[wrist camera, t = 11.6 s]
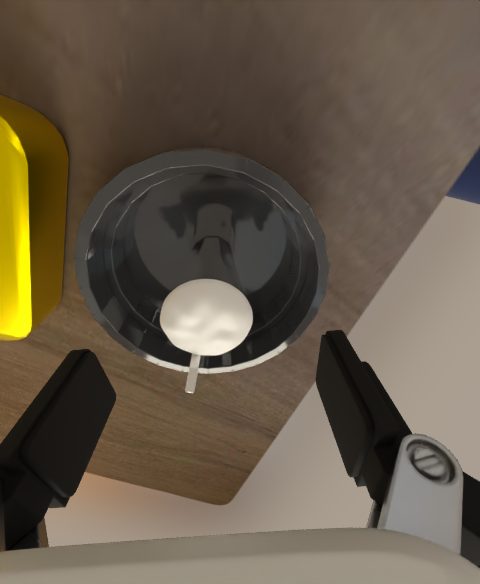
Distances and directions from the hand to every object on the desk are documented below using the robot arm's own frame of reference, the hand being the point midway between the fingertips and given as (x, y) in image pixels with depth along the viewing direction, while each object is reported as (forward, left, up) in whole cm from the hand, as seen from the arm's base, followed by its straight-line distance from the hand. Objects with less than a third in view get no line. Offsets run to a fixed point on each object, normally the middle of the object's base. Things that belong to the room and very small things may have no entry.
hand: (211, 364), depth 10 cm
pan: (+1, 0, -11) cm, 11 cm away
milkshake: (0, 0, -11) cm, 11 cm away
